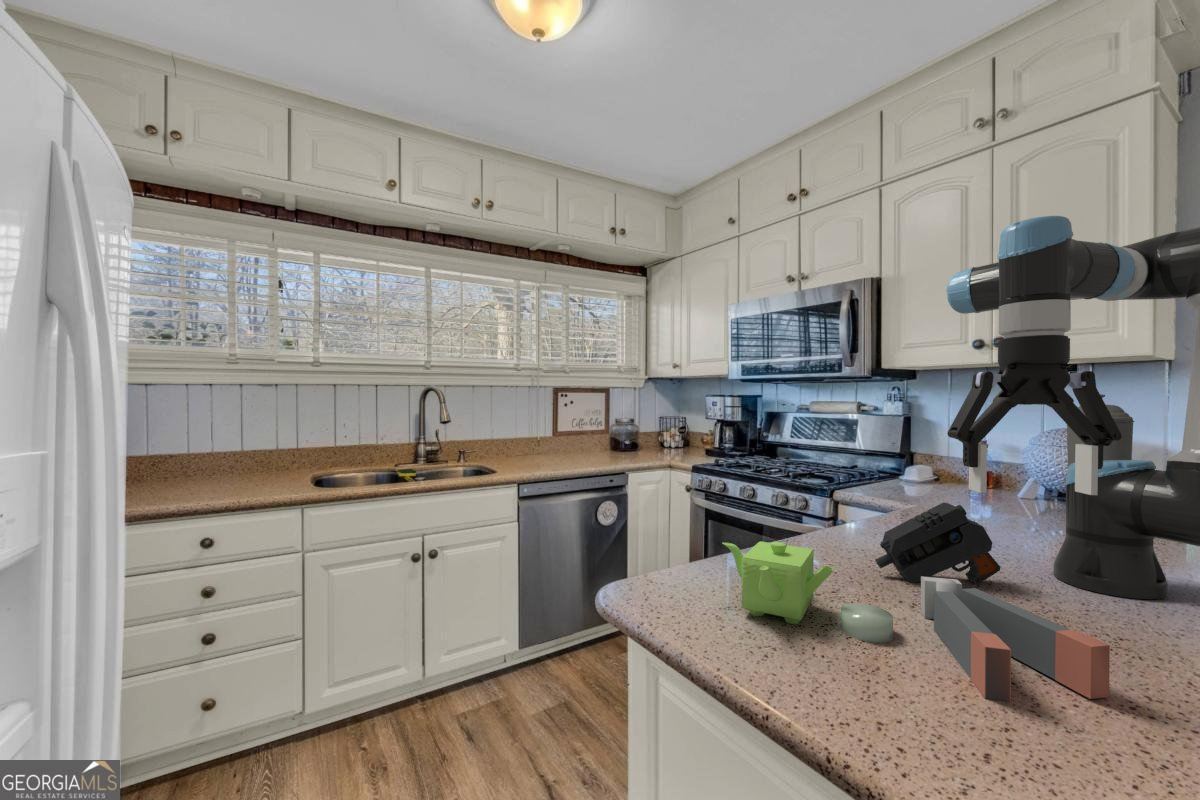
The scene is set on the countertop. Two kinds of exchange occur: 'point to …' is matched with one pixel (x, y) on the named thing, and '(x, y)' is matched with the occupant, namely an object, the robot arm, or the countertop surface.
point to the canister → (1116, 448)
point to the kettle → (778, 579)
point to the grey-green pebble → (867, 622)
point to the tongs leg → (1045, 644)
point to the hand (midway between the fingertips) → (1031, 492)
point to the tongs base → (967, 638)
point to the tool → (939, 545)
